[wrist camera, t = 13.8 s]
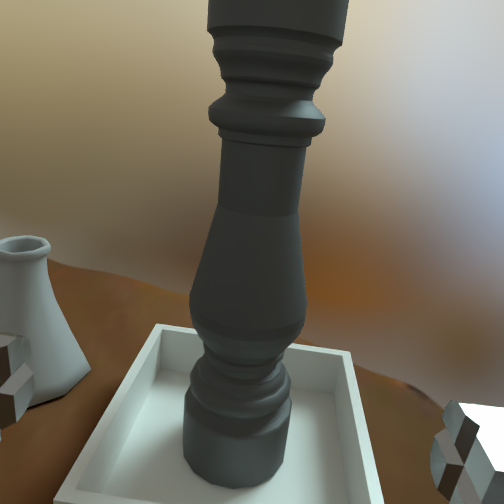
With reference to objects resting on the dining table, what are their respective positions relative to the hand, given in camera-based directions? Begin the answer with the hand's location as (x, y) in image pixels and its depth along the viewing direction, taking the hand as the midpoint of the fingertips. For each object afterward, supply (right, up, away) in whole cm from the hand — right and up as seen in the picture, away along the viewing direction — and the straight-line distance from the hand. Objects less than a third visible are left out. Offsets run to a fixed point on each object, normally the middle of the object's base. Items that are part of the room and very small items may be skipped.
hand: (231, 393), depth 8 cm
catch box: (-1, -10, +17) cm, 19 cm away
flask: (-15, -6, +21) cm, 27 cm away
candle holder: (-1, -9, +17) cm, 19 cm away
